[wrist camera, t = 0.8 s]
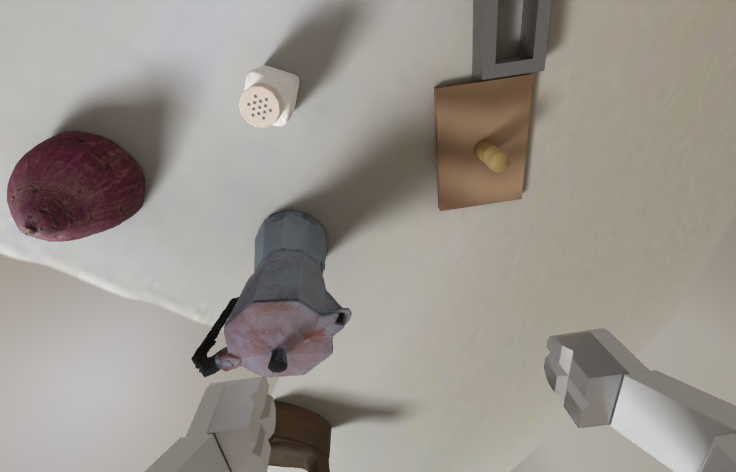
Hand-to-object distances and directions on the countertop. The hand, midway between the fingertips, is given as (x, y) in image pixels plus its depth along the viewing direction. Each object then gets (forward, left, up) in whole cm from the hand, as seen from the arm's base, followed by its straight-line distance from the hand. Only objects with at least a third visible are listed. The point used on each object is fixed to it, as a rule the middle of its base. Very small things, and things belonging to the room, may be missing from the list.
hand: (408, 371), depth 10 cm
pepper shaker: (-4, -8, -33) cm, 34 cm away
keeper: (+5, +13, -32) cm, 35 cm away
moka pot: (+14, -11, -33) cm, 37 cm away
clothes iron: (+51, -18, -33) cm, 63 cm away
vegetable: (+2, -30, -33) cm, 44 cm away
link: (-7, +15, -32) cm, 37 cm away
